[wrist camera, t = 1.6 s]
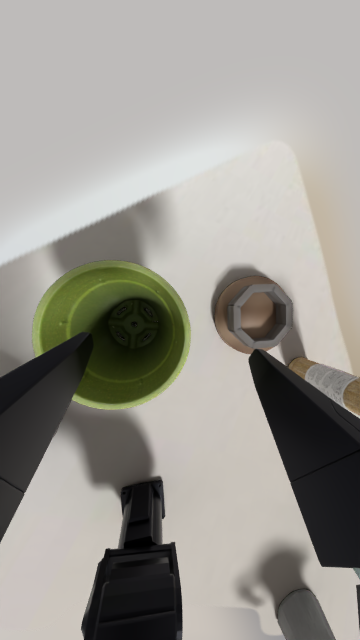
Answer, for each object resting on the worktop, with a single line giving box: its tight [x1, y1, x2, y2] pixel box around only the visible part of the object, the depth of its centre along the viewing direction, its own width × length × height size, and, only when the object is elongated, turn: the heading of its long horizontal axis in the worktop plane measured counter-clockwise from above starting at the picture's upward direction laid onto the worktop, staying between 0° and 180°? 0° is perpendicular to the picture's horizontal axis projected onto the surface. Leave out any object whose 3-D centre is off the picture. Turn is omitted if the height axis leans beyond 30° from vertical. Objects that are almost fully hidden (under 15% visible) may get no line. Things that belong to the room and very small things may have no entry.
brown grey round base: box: [214, 276, 293, 354], centre depth 24 cm, size 12×12×4 cm
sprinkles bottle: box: [289, 357, 360, 415], centre depth 21 cm, size 5×5×14 cm
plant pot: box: [32, 260, 191, 410], centre depth 18 cm, size 12×12×11 cm
